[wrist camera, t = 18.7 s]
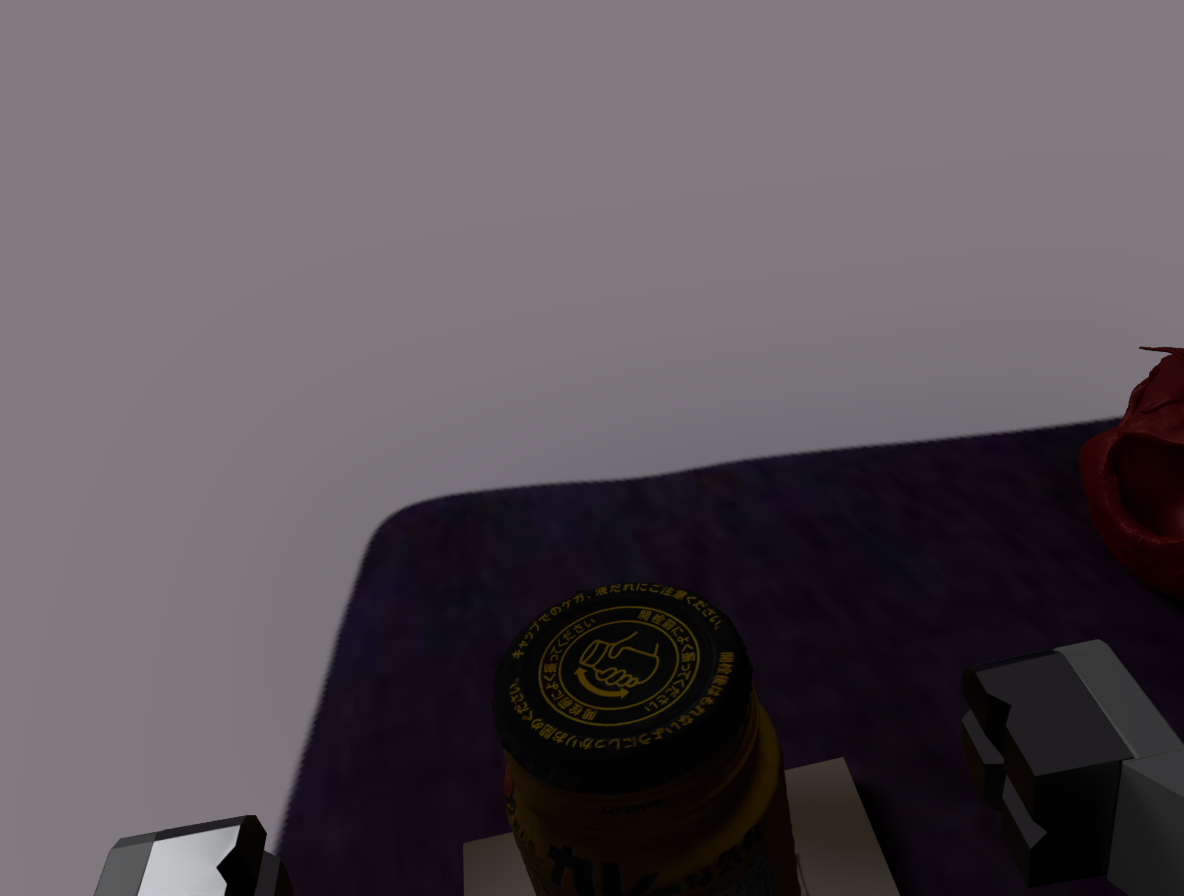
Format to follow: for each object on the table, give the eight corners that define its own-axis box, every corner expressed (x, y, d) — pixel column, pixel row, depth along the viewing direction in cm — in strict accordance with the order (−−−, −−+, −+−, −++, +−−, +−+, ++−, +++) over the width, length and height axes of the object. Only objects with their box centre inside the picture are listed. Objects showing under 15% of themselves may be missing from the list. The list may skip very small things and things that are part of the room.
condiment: (793, 851, 30) (747, 522, 24) (894, 1182, 23) (868, 841, 16) (544, 903, 30) (431, 591, 24) (568, 1249, 23) (415, 936, 17)
